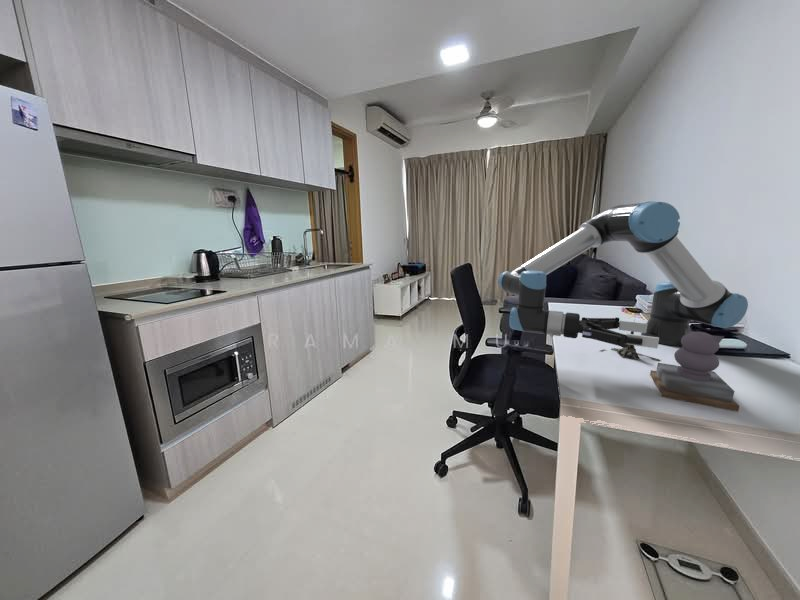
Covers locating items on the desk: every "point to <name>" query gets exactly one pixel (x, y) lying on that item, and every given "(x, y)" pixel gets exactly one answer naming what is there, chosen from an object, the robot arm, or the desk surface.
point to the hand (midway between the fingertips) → (652, 335)
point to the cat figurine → (697, 355)
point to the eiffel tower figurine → (629, 352)
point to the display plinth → (692, 398)
